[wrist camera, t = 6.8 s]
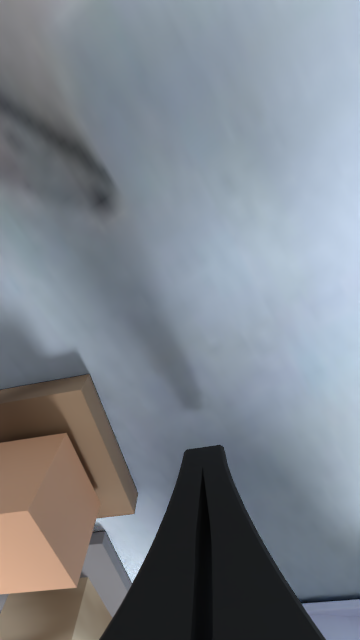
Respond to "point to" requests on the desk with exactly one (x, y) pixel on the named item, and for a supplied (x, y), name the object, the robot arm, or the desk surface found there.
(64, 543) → the block
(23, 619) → the birch cube
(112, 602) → the mat
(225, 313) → the desk surface
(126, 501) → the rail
